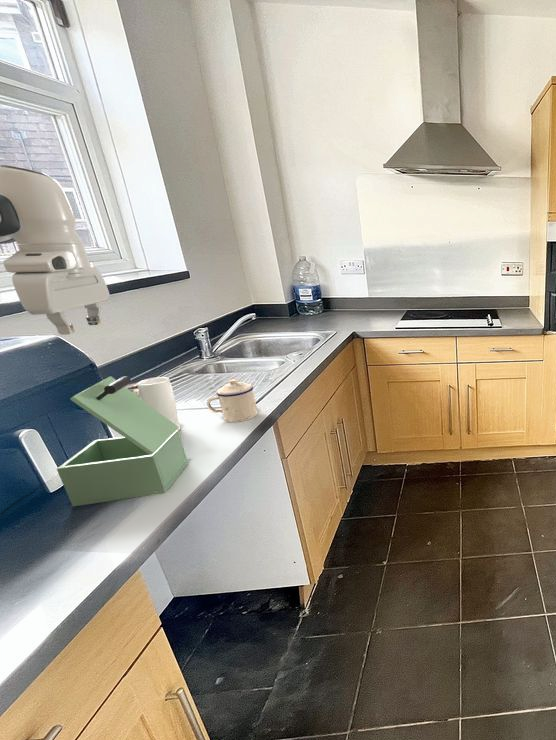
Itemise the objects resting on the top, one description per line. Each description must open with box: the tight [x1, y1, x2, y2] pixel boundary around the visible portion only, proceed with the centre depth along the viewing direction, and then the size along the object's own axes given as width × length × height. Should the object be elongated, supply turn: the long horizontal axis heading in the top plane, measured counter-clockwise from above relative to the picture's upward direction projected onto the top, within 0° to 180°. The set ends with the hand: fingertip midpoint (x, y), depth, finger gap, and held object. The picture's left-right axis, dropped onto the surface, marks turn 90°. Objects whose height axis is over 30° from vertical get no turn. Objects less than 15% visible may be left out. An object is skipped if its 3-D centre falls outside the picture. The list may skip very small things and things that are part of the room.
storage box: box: [56, 430, 189, 507], centre depth 90 cm, size 16×13×9 cm
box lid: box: [69, 375, 179, 455], centre depth 87 cm, size 16×13×5 cm
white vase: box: [136, 376, 181, 431], centre depth 112 cm, size 7×7×15 cm
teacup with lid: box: [206, 378, 259, 423], centre depth 122 cm, size 12×9×12 cm
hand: (82, 329), depth 86 cm, fingers open, 8 cm apart
